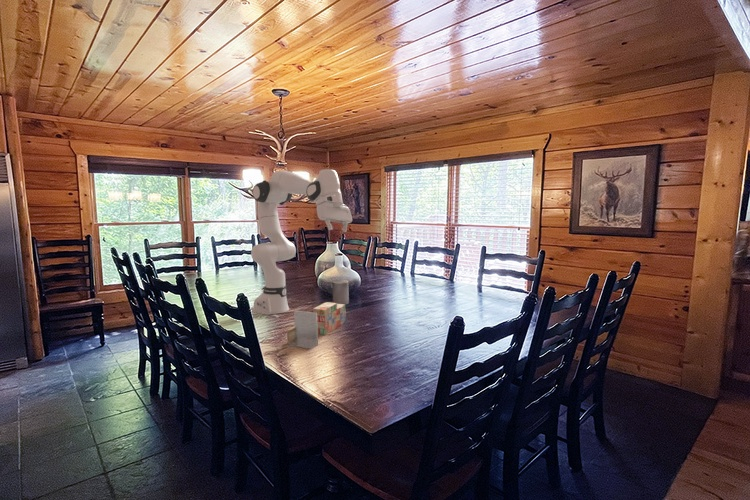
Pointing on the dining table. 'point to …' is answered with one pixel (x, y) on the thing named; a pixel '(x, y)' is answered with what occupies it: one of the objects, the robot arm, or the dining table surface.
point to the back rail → (291, 335)
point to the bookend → (305, 330)
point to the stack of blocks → (329, 316)
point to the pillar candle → (340, 292)
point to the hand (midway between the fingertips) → (338, 230)
